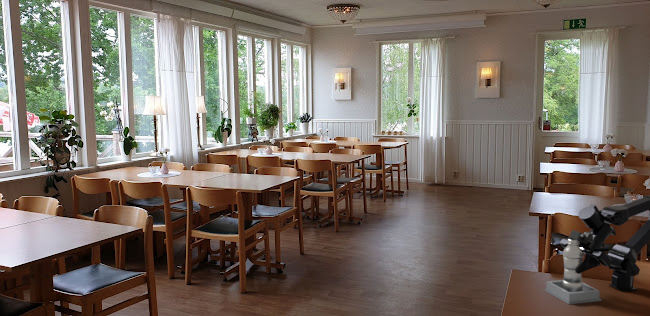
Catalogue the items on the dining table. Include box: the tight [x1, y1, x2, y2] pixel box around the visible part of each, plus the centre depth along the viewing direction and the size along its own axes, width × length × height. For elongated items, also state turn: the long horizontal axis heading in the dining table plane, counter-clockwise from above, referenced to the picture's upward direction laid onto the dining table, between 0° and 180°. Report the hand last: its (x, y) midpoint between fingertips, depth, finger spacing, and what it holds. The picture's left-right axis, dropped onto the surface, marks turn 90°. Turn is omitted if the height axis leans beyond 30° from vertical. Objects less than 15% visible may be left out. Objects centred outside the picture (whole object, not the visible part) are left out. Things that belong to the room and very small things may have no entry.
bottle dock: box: [543, 279, 602, 305], centre depth 177 cm, size 13×13×4 cm
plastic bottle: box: [562, 237, 584, 292], centre depth 176 cm, size 6×7×20 cm
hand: (570, 270), depth 176 cm, fingers closed on plastic bottle, 6 cm apart
